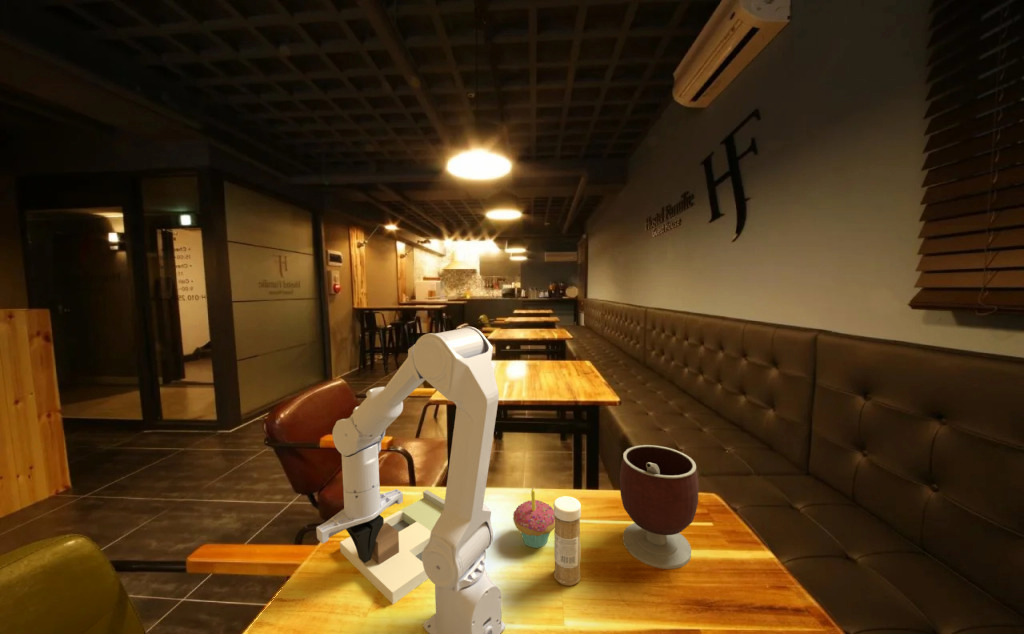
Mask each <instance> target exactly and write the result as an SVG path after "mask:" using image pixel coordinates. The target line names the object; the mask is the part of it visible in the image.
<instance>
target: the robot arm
mask: <svg viewBox="0 0 1024 634" xmlns="http://www.w3.org/2000/svg"><path fill="white" fill-rule="evenodd" d="M493 350H494V346H493V345H492V344H491V342H490V341H489V340H488V338H486V336H485V334H484V333H482V331H480V330H479V329H477V328H476V327H473V326H463V327H461V328H459V329H453V330H447V331H442V332H436V333H432V332H431V333H430V332H429V333H425V334H423V335H421V336H420V337H419V338H418V339H417V340H416V342H415V344H413V345H412V346H411V347H409V348H408V349H407V352H408V353H407V358H406V359H405V360H404V362H403V363H402V364H401V366H399V368H398V369H397V371H396V372H395V374H394V375H393V376H392V377H391V379H390V380H389V381H388V383H387V384H386V385H385V386H378V387H373V388H371V389H368V390H367V392H366V393H365V396H366V397H365V399H364V400H362V402H361V404H360V405H359V406H355V407H354V409H353V410H352V414H350V416H349V417H347V418H342V419H338V420H337V421H336V422H335V425H334V426H333V429H332V432H331V433H332V440H333V443H334V447H335V448H336V450H337V451H338V453H340V454H341V470H342V471H341V473H342V488H343V506H344V508H343V509H341V510H340V511H339V512H337V513H336V514H335V515H334V516H331V518H329V519H328V520H327V521H325V522H323V523H321V524H320V525H317V526H316V529H315V530H316V539H317V540H318V541H319V542H320V544H325V543H327V542H328V541H329V540H330V538H331V537H333V536H335V535H336V534H338V533H341V532H342V531H345V530H346V532H347V533H348V535H349V537H351V538H352V540H353V542H354V544H355V547H356V549H357V553H358V556H359V559H360V560H361V561H362V562H363V563H366V562H368V561H369V560H371V557H372V553H373V548H374V544H375V541H376V538H377V536H378V533H379V531H380V529H381V527H382V526H383V524H384V519H385V518H384V517H383V516H382V515H381V514H382V513H383V512H384V511H385V510H386V509H388V508H390V507H392V506H394V505H395V504H396V505H400V504H402V503H403V502H404V496H403V495H404V493H403V492H402V491H401V490H400V489H397V488H395V489H393V490H390V491H387V492H384V493H381V488H380V464H379V453H381V450H382V441H383V440H384V439H385V436H386V430H387V428H388V427H389V426H391V425H392V423H393V422H395V420H397V418H399V416H400V415H401V413H402V412H403V410H404V400H405V399H406V398H407V397H408V396H410V395H411V394H412V393H413V392H414V391H415V390H416V389H418V387H420V386H421V384H423V383H424V382H425V381H426V382H427V383H428V384H430V385H431V386H432V387H433V388H434V389H435V390H436V391H437V392H439V393H440V394H441V395H442V396H443V397H444V398H445V399H446V400H448V401H450V402H452V403H454V404H455V406H456V409H455V416H454V417H455V418H454V425H453V427H454V428H453V432H452V440H451V448H450V457H449V466H448V472H447V479H446V488H445V496H444V497H445V498H444V500H445V503H444V510H443V512H442V513H441V515H440V517H439V518H438V520H437V522H436V524H435V525H434V527H433V529H432V531H431V534H430V540H429V543H428V544H427V545H426V546H425V548H424V550H423V553H422V561H423V567H424V570H425V572H426V574H427V576H428V579H429V581H430V582H432V583H433V584H434V590H435V591H434V596H435V597H434V598H435V599H434V600H435V603H434V604H435V614H434V615H432V616H431V617H430V618H429V619H427V620H426V621H425V622H424V623H423V629H424V630H425V631H426V632H427V633H428V634H501V633H502V632H503V631H504V630H505V629H506V624H505V622H504V621H502V593H501V589H500V588H499V586H498V585H497V584H496V583H494V582H493V581H492V579H491V578H490V576H489V575H488V573H487V570H486V566H485V560H486V559H487V552H486V551H487V549H488V548H489V547H490V546H491V545H492V543H493V540H494V531H493V527H492V522H491V514H492V511H491V509H490V508H489V507H487V505H486V504H484V503H485V502H484V501H485V494H486V487H487V480H488V474H489V467H490V461H491V460H490V459H491V455H492V454H491V453H492V447H493V442H494V441H493V440H494V432H495V427H496V426H495V425H496V420H497V419H496V418H497V411H498V404H499V399H500V398H499V397H500V396H499V395H500V393H499V387H498V384H497V379H496V376H495V372H494V368H493V364H492V363H493V362H492V358H493V352H494V351H493Z"/></svg>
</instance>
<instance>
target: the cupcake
mask: <svg viewBox="0 0 1024 634" xmlns="http://www.w3.org/2000/svg"><path fill="white" fill-rule="evenodd" d="M530 491H531V493H530V494H531V500H527V501H524V502H523V503H520V504H519V505H518V506H517V507H516V509H515V510H514V511H513V513H512V514H513V517H512V519H513V523H514V526H515V528H516V529H517V531H519V532H520V534H521V536H522V539H523V542H524V544H525V545H526V546H528V547H530V548H535V549H536V548H541V547H543V546H546V544H547V543H548V540H549V536H550V534H551V532H552V531H553V530H555V516H554V508H553V507H552V506H551V505H549V503H546V502H543V501H542V500H537V499H536V490H535V489H534V486H532V488H531V490H530Z"/></svg>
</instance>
